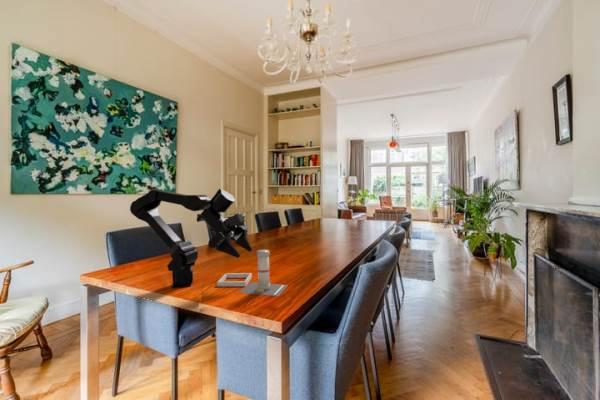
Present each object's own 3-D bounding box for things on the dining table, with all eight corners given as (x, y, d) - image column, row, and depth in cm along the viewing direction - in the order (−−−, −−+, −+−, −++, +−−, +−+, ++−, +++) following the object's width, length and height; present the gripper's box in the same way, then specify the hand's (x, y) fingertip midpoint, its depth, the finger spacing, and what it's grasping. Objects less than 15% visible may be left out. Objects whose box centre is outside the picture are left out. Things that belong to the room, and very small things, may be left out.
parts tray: (217, 289, 96) (217, 282, 96) (226, 279, 107) (225, 273, 106) (245, 288, 96) (245, 281, 96) (251, 279, 106) (251, 273, 106)
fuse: (258, 291, 91) (257, 252, 90) (257, 287, 95) (256, 250, 94) (271, 290, 92) (270, 251, 91) (268, 285, 96) (268, 249, 95)
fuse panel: (238, 295, 90) (238, 289, 90) (251, 285, 100) (251, 279, 100) (278, 298, 87) (278, 292, 87) (287, 288, 96) (287, 282, 96)
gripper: (215, 207, 86) (248, 242, 84) (242, 204, 104) (270, 233, 102) (194, 231, 89) (226, 266, 86) (224, 224, 107) (251, 253, 104)
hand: (245, 253), depth 95 cm, fingers open, 9 cm apart
